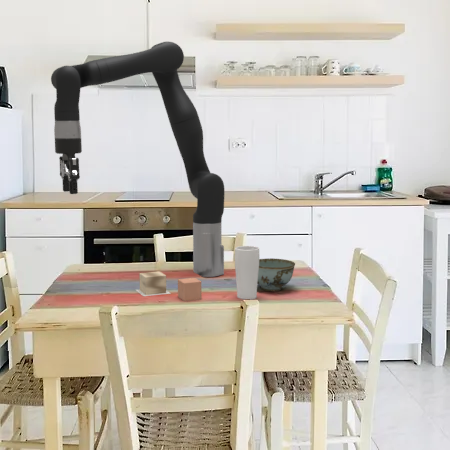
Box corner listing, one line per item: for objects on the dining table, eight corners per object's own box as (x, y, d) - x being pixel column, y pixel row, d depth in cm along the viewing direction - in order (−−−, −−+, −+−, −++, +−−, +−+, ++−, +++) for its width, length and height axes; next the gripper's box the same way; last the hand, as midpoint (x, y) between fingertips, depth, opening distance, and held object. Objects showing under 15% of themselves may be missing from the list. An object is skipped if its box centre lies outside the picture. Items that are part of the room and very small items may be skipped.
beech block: (159, 288, 195) (159, 271, 194) (166, 292, 189) (166, 275, 188) (139, 290, 192) (139, 273, 191) (145, 295, 187) (145, 277, 186)
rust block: (194, 295, 187) (194, 277, 186) (201, 299, 182) (201, 281, 182) (177, 297, 185) (177, 279, 184) (184, 301, 180) (184, 283, 180)
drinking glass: (230, 299, 187) (230, 246, 185) (252, 297, 190) (252, 245, 187) (240, 305, 181) (241, 250, 179) (263, 302, 183) (263, 249, 181)
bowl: (242, 292, 195) (242, 265, 194) (256, 282, 208) (256, 256, 207) (288, 296, 191) (288, 268, 190) (299, 285, 203) (299, 259, 202)
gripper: (87, 137, 189) (89, 194, 192) (74, 136, 202) (77, 190, 204) (60, 137, 186) (62, 195, 188) (49, 136, 199) (52, 191, 201)
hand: (70, 192), depth 196 cm, fingers open, 8 cm apart
